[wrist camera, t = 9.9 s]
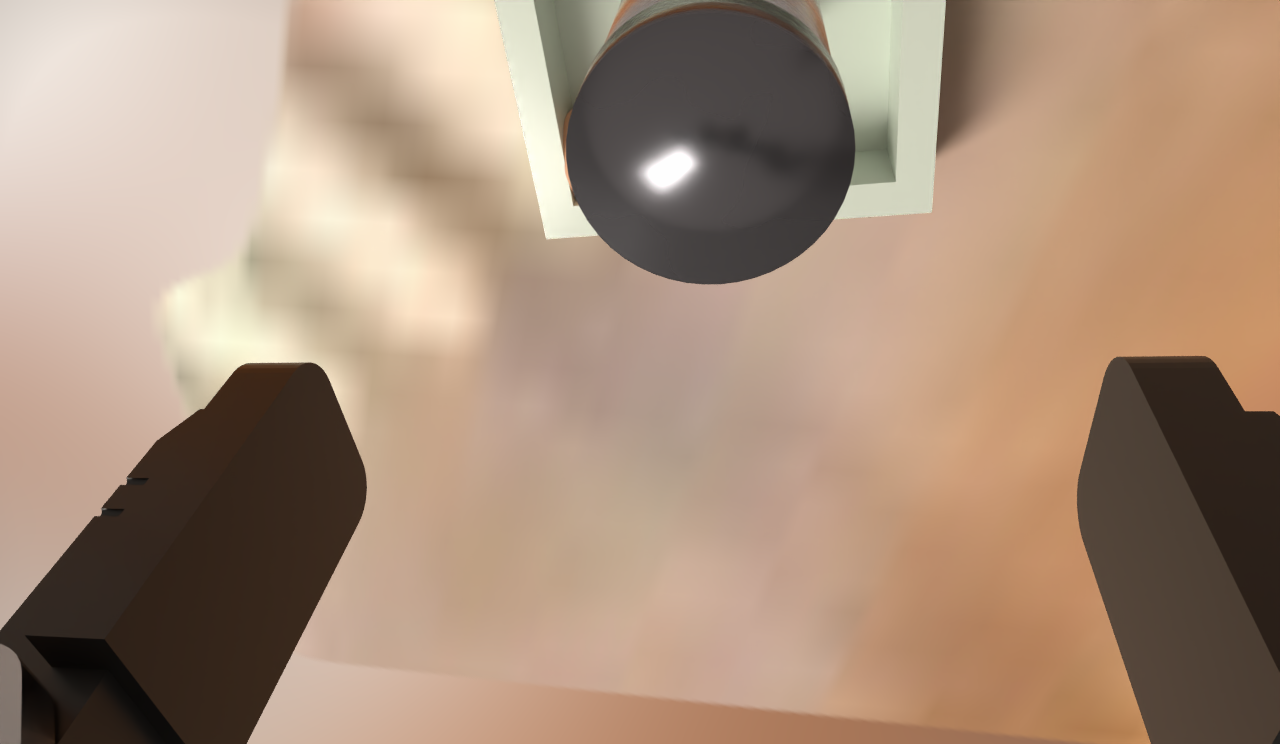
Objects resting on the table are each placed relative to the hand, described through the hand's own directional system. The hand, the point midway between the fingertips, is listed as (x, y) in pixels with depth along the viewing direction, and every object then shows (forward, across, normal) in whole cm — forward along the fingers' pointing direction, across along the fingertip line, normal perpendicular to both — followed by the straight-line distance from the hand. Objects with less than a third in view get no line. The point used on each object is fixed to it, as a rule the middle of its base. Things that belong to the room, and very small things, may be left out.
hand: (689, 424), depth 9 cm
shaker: (+18, +1, 0) cm, 18 cm away
